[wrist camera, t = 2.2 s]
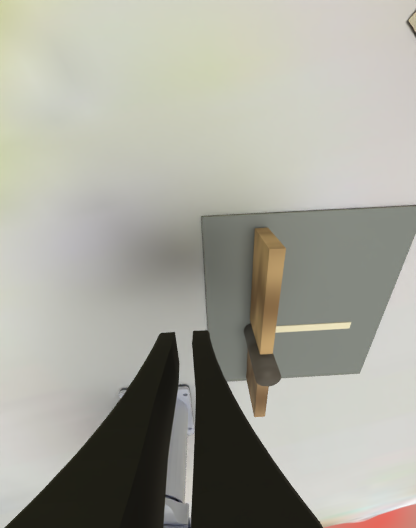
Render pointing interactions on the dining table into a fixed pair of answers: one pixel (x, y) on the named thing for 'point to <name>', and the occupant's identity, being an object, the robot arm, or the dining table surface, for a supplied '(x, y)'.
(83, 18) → the dining table surface
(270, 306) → the fence panel
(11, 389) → the dining table surface
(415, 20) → the condiment
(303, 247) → the card
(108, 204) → the dining table surface
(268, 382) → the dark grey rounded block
